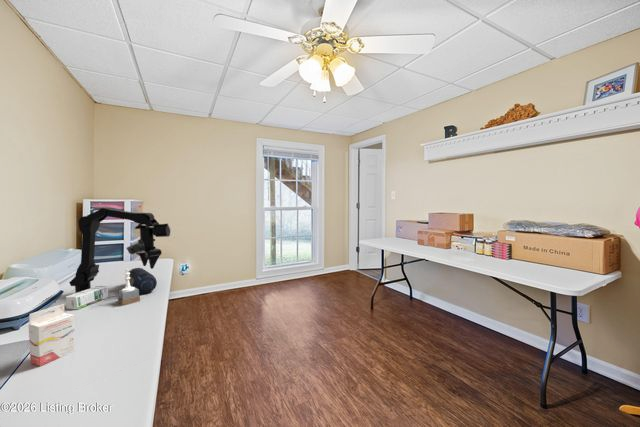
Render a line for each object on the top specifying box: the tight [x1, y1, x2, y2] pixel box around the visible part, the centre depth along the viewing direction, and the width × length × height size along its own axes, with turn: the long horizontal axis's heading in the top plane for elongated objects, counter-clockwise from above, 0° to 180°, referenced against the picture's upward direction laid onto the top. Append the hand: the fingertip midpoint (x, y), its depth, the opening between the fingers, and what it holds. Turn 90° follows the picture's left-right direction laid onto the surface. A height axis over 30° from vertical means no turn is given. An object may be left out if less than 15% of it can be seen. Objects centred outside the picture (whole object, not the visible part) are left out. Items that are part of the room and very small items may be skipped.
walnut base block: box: [117, 295, 141, 307], centre depth 120 cm, size 7×7×3 cm
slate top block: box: [118, 287, 140, 300], centre depth 120 cm, size 6×6×3 cm
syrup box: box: [65, 285, 109, 310], centre depth 119 cm, size 6×6×14 cm
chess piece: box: [121, 268, 134, 292], centre depth 119 cm, size 5×5×10 cm
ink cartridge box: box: [28, 303, 76, 367], centre depth 78 cm, size 9×5×15 cm, turn 160°
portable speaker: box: [128, 267, 158, 295], centre depth 137 cm, size 25×10×10 cm, turn 47°
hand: (148, 267), depth 133 cm, fingers open, 9 cm apart
